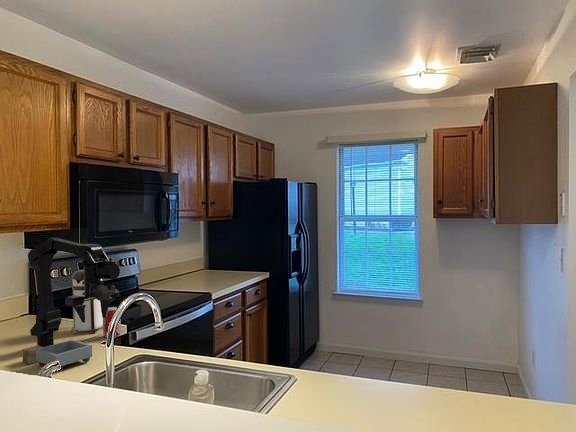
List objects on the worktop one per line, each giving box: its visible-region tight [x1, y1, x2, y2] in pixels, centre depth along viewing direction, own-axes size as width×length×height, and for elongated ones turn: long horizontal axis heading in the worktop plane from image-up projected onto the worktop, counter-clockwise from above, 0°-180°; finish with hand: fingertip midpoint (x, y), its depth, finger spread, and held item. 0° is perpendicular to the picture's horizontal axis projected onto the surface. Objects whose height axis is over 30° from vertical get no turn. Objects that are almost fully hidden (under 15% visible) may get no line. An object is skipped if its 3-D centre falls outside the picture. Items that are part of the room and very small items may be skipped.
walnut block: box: [21, 344, 43, 366], centre depth 160 cm, size 5×5×5 cm
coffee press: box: [70, 269, 103, 335], centre depth 200 cm, size 17×16×30 cm
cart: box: [36, 339, 93, 372], centre depth 156 cm, size 13×13×6 cm
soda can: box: [102, 306, 122, 339], centre depth 190 cm, size 7×7×12 cm
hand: (93, 320), depth 166 cm, fingers open, 8 cm apart
